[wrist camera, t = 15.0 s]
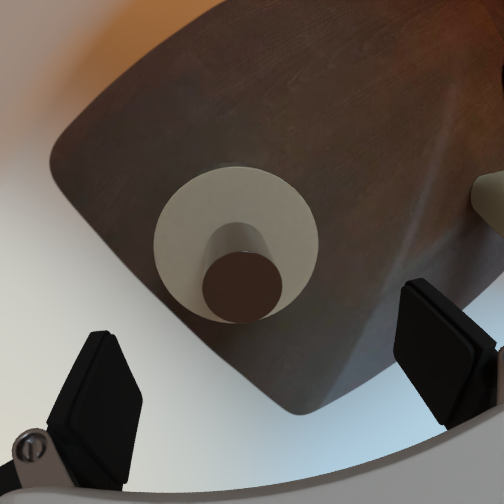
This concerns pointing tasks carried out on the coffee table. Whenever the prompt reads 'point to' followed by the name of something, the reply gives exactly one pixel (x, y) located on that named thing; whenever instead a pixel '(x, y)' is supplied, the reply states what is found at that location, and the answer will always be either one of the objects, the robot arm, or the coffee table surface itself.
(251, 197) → the lid
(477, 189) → the mug
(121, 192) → the coffee table surface
